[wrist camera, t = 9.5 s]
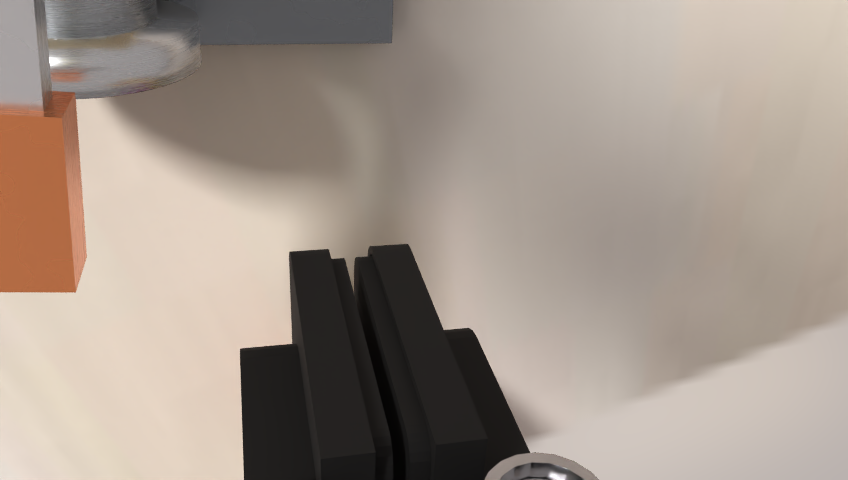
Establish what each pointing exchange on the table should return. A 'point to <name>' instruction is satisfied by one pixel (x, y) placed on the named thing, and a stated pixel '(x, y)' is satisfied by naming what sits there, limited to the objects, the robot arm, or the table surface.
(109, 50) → the valve body
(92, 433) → the table surface
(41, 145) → the valve lever
